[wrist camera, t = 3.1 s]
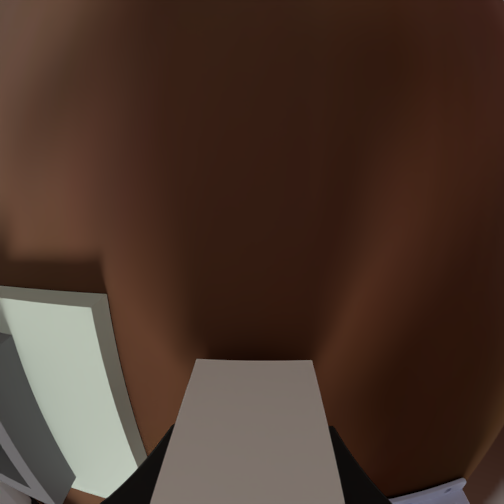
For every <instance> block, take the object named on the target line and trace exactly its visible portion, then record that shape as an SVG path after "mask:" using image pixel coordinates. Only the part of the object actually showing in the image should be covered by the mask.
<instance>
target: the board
mask: <svg viewBox="0 0 504 504" xmlns="http://www.w3.org/2000/svg"><path fill="white" fill-rule="evenodd" d="M146 458H147V455H146V452H145V449H144V446H143V443H142V440H141V437H140V434H139V431H138V428H137V424H136V421H135V418H134V414H133V411H132V407H131V404H130V400H129V397H128V393H127V389H126V385H125V381H124V377H123V373H122V369H121V365H120V361H119V356H118V352H117V347H116V342H115V337H114V332H113V327H112V322H111V317H110V311H109V305H108V299H107V294H99V293H83V292H68V291H54V290H42V289H30V288H19V287H8V286H0V481H2V482H3V483H5V484H7V485H9V486H11V487H13V488H15V489H16V490H18V491H20V492H22V493H24V494H26V495H29V496H31V497H33V498H35V499H37V500H39V501H41V502H44V503H46V504H63V502H64V500H65V498H66V496H67V494H68V492H69V490H70V488H71V487H72V488H75V489H78V490H81V491H84V492H87V493H90V494H94V495H97V496H100V497H104V498H107V497H109V496H110V495H111V494H112V493H113V492H114V491H115V490H117V489H118V488H119V487H120V486H121V485H122V484H123V483H124V482H125V481H126V480H127V479H128V478H129V477H130V476H131V475H132V474H133V473H134V472H135V471H136V470H137V468H138V467H139V466H140V465H141V464H142V463H143V462H144V460H145V459H146Z"/></svg>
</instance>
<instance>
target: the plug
mask: <svg viewBox="0 0 504 504" xmlns="http://www.w3.org/2000/svg"><path fill="white" fill-rule="evenodd" d="M150 504H345V501H344V496H343V491H342V487H341V482H340V477H339V473H338V468H337V464H336V459H335V455H334V450H333V446H332V442H331V437H330V433H329V428H328V424H327V420H326V416H325V411H324V407H323V403H322V399H321V395H320V391H319V387H318V382H317V378H316V374H315V370H314V366H313V362H312V360H291V361H243V360H210V359H196V362H195V365H194V368H193V371H192V374H191V377H190V380H189V383H188V386H187V389H186V392H185V395H184V398H183V401H182V404H181V407H180V411H179V414H178V417H177V420H176V423H175V426H174V429H173V432H172V435H171V438H170V441H169V445H168V448H167V451H166V454H165V457H164V460H163V463H162V467H161V470H160V473H159V476H158V479H157V483H156V486H155V489H154V492H153V495H152V499H151V502H150Z"/></svg>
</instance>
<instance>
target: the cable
mask: <svg viewBox="0 0 504 504" xmlns="http://www.w3.org/2000/svg"><path fill="white" fill-rule="evenodd" d="M0 504H39V503H38V502H37V501H36V500H35V499H34V498H33V497H31V496H29V495H26V494H24V493H22V492H20V491H18V490H16V489H15V488H13V487H11V486H9V485H7V484H5V483H3V482H2V481H0Z"/></svg>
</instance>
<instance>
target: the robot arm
mask: <svg viewBox="0 0 504 504" xmlns="http://www.w3.org/2000/svg"><path fill="white" fill-rule="evenodd" d="M174 426H175V424H173V425H172V426H171V427H170V429H169V430H168V431H167V433H166V434H165V436H164V437H163V438H162V440H161V441H160V442H159V444H158V445H157V446H156V447H155V449H154V450H153V451H152V452H151V454H150V455H149V456H148V457H147V458H146V459H145V460H144V462H143V463H142V464H141V465H140V466H139V467H138V468H137V470H136V471H135V472H134V473H133V474H132V475H131V476H130V477H129V478H128V479H127V480H126V481H125V482H124V483H123V484H122V485H121V486H120V487H119V488H118V489H117V490H115V491H114V492H113V493H112V494H111V495H110V496H109V497H107V498H106V499H105V500H104V501H102V502H101V503H100V504H150V502H151V499H152V495H153V492H154V489H155V486H156V483H157V479H158V476H159V473H160V470H161V467H162V463H163V460H164V457H165V454H166V451H167V448H168V445H169V441H170V438H171V435H172V432H173V429H174ZM328 428H329V433H330V437H331V442H332V446H333V450H334V455H335V459H336V464H337V468H338V473H339V477H340V482H341V487H342V491H343V496H344V501H345V504H469V502H468V500H467V498H466V496H465V494H464V492H463V490H462V488H463V487H464V485H465V484H466V480H465V478H460V479H457V480H455V481H452V482H449V483H446V484H443V485H440V486H437V487H433V488H430V489H427V490H423V491H420V492H416V493H412V494H409V495H405V496H401V497H396V498H392V499H388V498H387V497H386V496H385V495H384V494H383V493H382V492H381V491H380V490H379V489H378V488H377V487H376V485H375V484H374V483H373V482H372V481H371V480H370V478H369V477H368V476H367V474H366V473H365V472H364V471H363V469H362V468H361V467H360V465H359V464H358V463H357V461H356V460H355V459H354V457H353V456H352V454H351V453H350V451H349V450H348V448H347V447H346V445H345V444H344V442H343V441H342V439H341V437H340V436H339V434H338V432H337V431H336V429H335V428H334V427H333V426H328Z"/></svg>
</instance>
